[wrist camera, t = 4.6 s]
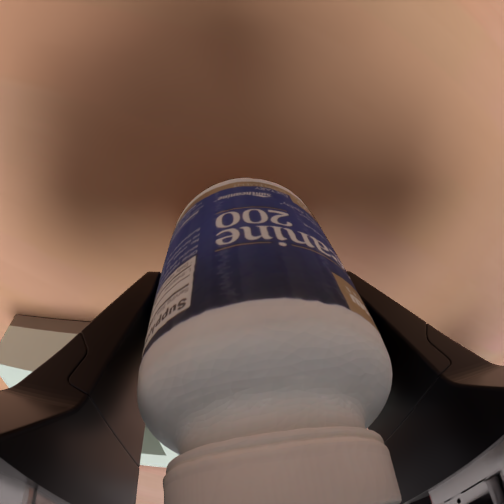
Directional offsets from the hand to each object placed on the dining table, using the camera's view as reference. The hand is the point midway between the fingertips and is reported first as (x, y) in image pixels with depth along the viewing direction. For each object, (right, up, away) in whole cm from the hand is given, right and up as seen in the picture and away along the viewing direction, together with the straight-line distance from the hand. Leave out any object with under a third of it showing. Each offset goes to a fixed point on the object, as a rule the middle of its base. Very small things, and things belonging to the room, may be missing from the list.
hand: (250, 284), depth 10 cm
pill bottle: (0, +1, +2) cm, 3 cm away
